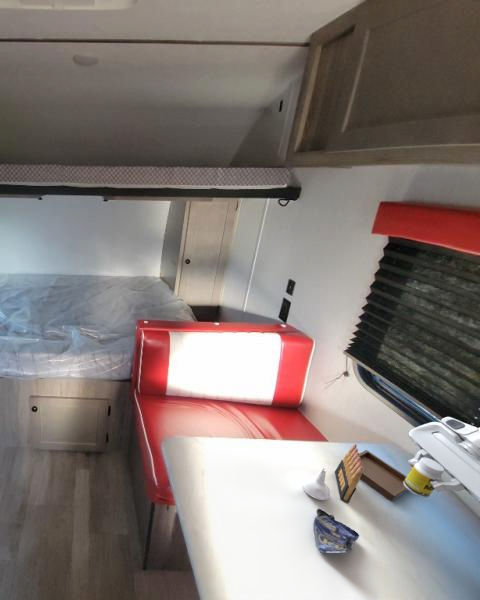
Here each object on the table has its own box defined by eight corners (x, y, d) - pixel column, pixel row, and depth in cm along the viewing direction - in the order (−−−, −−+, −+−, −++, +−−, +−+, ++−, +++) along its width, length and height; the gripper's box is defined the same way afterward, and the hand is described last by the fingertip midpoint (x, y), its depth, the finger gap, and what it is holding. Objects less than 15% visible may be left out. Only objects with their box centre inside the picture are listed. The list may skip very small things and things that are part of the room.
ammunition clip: (348, 503, 89) (367, 470, 85) (340, 499, 90) (359, 466, 85) (342, 474, 98) (359, 443, 93) (334, 471, 99) (351, 440, 94)
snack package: (288, 516, 84) (329, 566, 73) (300, 497, 82) (344, 546, 71) (323, 516, 87) (368, 565, 76) (336, 498, 85) (383, 545, 74)
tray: (411, 487, 96) (415, 482, 96) (391, 501, 91) (394, 496, 90) (363, 454, 106) (366, 449, 106) (342, 465, 101) (345, 460, 100)
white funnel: (307, 500, 88) (318, 478, 85) (296, 480, 94) (306, 459, 91) (331, 505, 88) (344, 483, 85) (319, 484, 94) (330, 463, 91)
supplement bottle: (420, 500, 78) (438, 474, 75) (398, 482, 82) (414, 457, 79) (433, 496, 79) (451, 470, 76) (410, 479, 84) (427, 454, 81)
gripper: (547, 502, 66) (469, 526, 70) (450, 428, 85) (394, 451, 89) (536, 482, 65) (458, 508, 69) (441, 411, 84) (384, 435, 88)
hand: (421, 475), depth 79 cm, fingers closed on supplement bottle, 5 cm apart
